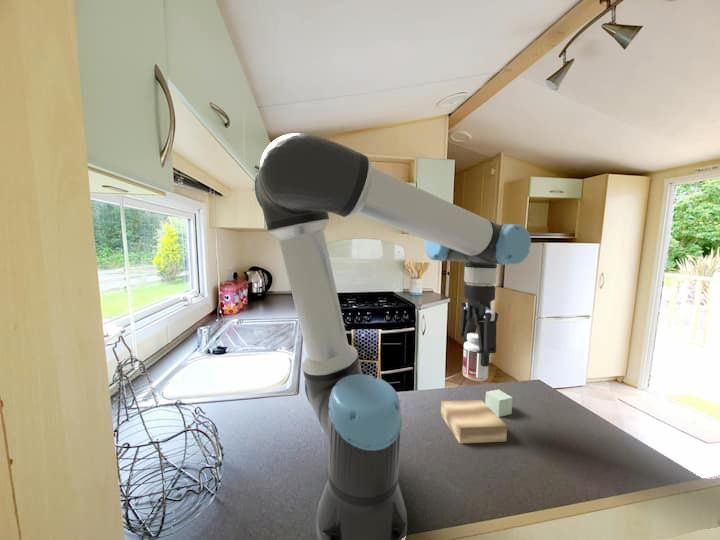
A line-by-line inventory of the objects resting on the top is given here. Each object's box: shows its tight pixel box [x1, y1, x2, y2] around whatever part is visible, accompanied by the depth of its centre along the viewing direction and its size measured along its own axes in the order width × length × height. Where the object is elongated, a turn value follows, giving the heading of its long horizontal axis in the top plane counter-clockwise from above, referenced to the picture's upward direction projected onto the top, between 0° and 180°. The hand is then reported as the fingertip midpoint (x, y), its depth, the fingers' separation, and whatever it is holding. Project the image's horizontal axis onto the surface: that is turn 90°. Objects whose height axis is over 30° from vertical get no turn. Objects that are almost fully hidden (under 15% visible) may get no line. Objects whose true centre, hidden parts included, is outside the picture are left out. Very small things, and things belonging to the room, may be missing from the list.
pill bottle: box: [462, 332, 488, 382], centre depth 73 cm, size 6×6×11 cm
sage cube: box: [484, 389, 514, 418], centre depth 83 cm, size 5×5×5 cm
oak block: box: [440, 399, 508, 444], centre depth 75 cm, size 12×12×4 cm
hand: (474, 371), depth 74 cm, fingers closed on pill bottle, 6 cm apart
